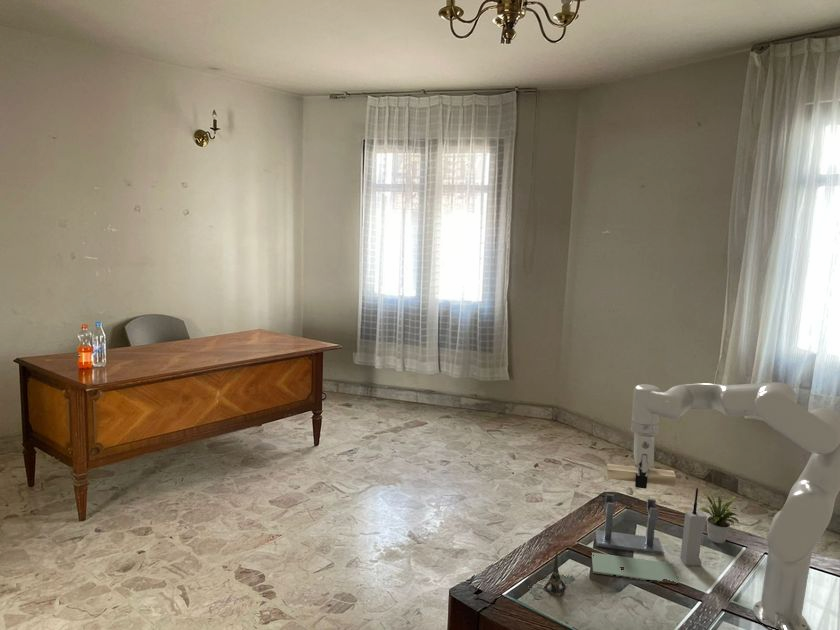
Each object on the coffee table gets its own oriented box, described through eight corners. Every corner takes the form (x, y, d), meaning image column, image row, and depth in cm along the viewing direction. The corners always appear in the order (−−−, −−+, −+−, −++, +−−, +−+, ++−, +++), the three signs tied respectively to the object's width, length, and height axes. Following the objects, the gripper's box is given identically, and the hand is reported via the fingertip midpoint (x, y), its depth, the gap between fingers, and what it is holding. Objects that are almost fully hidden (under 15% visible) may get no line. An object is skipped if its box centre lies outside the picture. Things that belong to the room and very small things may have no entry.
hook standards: (662, 555, 190) (666, 511, 187) (597, 546, 194) (600, 503, 191) (658, 541, 198) (662, 499, 195) (595, 533, 202) (598, 492, 199)
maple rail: (675, 486, 176) (675, 476, 175) (607, 478, 180) (608, 469, 180) (672, 480, 180) (673, 470, 179) (606, 472, 184) (607, 463, 183)
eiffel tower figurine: (571, 574, 180) (574, 534, 178) (586, 596, 170) (589, 554, 168) (523, 579, 178) (526, 538, 175) (536, 601, 168) (538, 558, 165)
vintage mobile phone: (701, 566, 185) (710, 491, 180) (685, 565, 185) (693, 491, 180) (695, 559, 188) (704, 485, 183) (680, 558, 188) (688, 485, 183)
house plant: (692, 546, 195) (697, 500, 192) (686, 524, 208) (691, 481, 205) (740, 554, 191) (746, 507, 188) (732, 532, 204) (737, 487, 201)
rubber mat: (678, 585, 175) (678, 583, 175) (593, 572, 180) (593, 571, 180) (671, 565, 185) (672, 563, 185) (591, 554, 190) (591, 552, 190)
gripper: (662, 438, 168) (656, 498, 171) (654, 417, 184) (649, 473, 187) (633, 435, 170) (629, 495, 173) (628, 415, 186) (624, 470, 189)
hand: (639, 483), depth 180 cm, fingers closed on maple rail, 4 cm apart
